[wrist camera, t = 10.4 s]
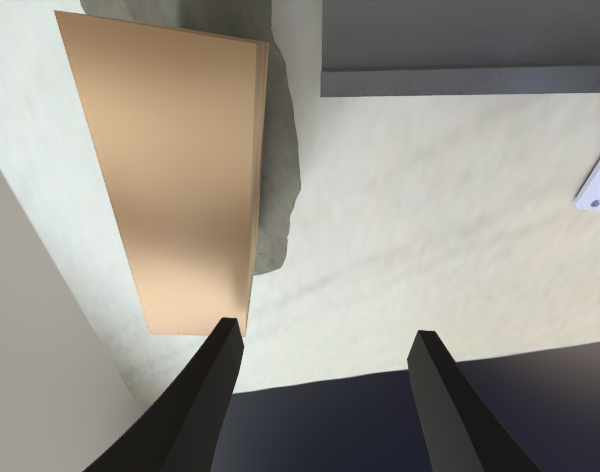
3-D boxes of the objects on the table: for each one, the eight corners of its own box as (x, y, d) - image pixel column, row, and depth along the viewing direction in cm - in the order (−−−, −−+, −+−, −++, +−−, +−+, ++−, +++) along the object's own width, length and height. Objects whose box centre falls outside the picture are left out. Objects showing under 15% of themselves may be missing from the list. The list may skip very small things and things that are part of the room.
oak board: (257, 241, 20) (245, 337, 13) (193, 236, 19) (149, 333, 13) (268, 42, 13) (256, 43, 7) (171, 26, 13) (53, 10, 6)
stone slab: (244, -141, 12) (46, -61, 13) (234, -185, 10) (-4, -84, 11) (335, 248, 24) (230, 272, 25) (340, 269, 22) (225, 294, 23)
